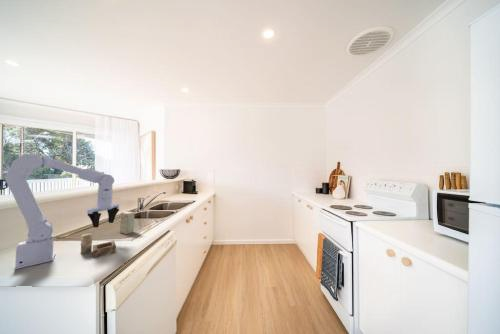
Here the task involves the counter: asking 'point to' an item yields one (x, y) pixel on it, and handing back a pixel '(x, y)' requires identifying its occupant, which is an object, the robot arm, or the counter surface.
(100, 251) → the walnut holder
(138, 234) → the counter surface
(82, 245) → the beech peg
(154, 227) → the counter surface
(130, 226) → the skincare box
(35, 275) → the counter surface
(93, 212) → the robot arm
